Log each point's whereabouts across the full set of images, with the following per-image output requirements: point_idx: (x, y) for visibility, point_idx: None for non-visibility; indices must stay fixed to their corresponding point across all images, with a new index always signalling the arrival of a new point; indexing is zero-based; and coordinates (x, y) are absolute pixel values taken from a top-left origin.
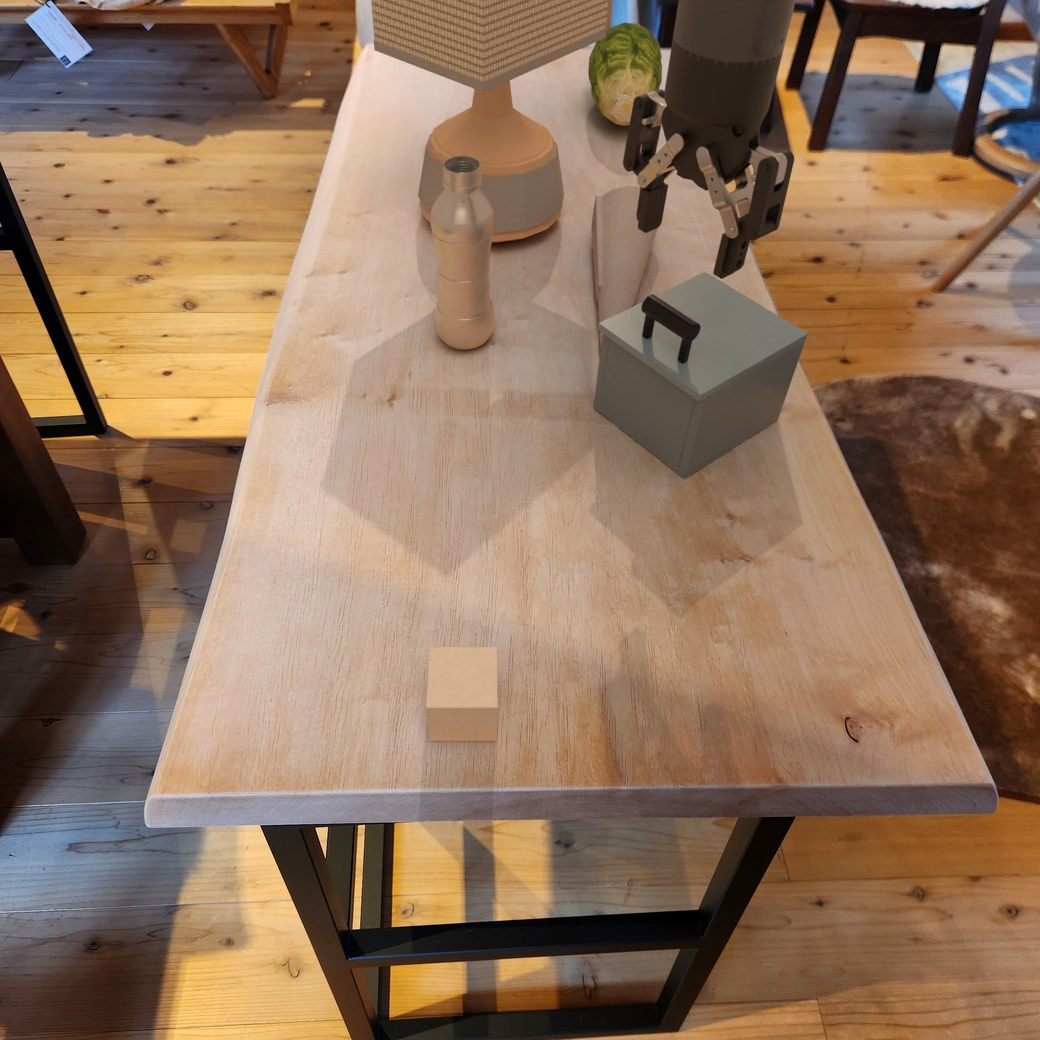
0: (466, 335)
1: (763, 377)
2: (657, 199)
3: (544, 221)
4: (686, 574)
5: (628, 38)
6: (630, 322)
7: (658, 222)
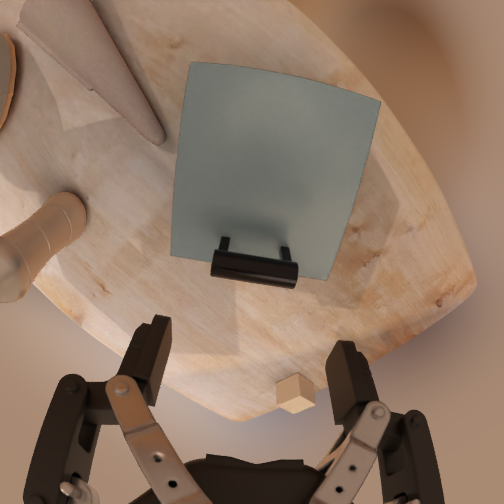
0: (79, 235)
1: None
2: (156, 374)
3: (9, 72)
4: (349, 286)
5: None
6: (193, 231)
7: (168, 327)
